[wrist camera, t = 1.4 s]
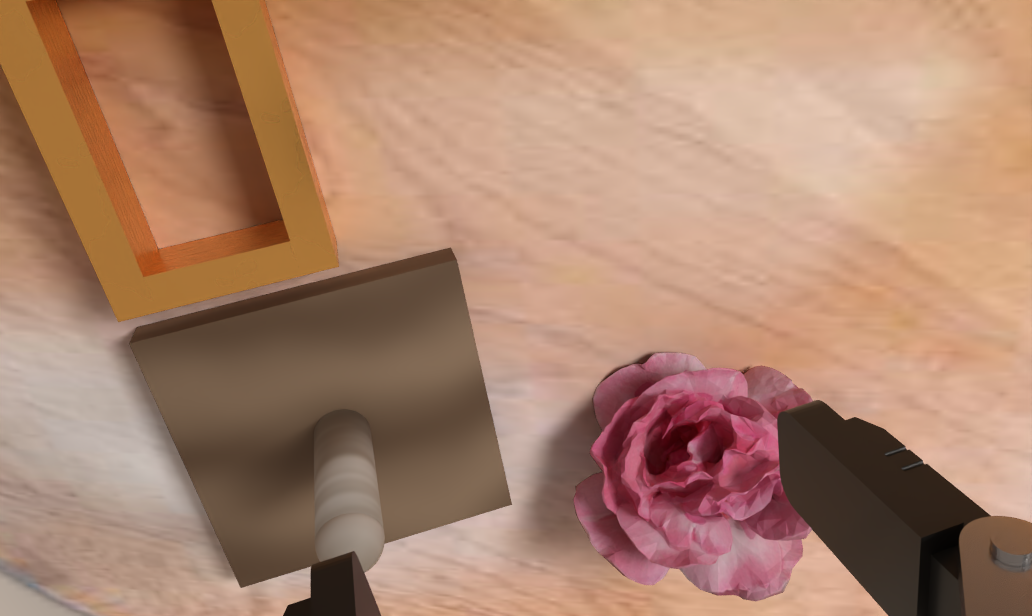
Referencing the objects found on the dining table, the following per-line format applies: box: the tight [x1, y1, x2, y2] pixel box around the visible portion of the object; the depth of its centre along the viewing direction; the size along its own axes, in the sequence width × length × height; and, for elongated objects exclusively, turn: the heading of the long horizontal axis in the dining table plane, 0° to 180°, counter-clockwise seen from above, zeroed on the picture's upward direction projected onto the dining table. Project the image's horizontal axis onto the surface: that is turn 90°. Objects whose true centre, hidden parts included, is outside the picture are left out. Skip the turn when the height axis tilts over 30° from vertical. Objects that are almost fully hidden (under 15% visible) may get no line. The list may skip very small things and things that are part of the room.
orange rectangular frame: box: [0, 0, 339, 322], centre depth 27 cm, size 12×8×3 cm, turn 10°
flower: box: [573, 353, 813, 601], centre depth 36 cm, size 11×10×10 cm
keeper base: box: [129, 248, 512, 588], centre depth 30 cm, size 13×13×10 cm
